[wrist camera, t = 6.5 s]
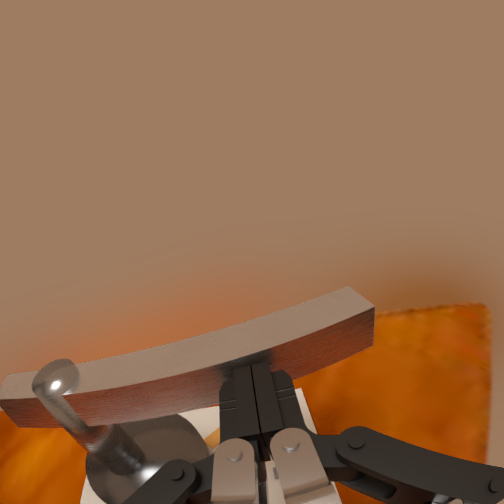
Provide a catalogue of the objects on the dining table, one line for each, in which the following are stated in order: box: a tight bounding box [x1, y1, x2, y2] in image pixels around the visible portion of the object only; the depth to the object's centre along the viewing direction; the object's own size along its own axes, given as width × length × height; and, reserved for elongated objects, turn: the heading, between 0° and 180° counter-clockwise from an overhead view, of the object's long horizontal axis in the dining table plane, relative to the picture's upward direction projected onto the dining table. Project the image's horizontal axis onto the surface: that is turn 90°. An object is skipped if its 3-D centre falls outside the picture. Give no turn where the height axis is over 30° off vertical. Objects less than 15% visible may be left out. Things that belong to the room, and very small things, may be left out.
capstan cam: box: [0, 286, 375, 504], centre depth 13 cm, size 21×9×12 cm, turn 105°
